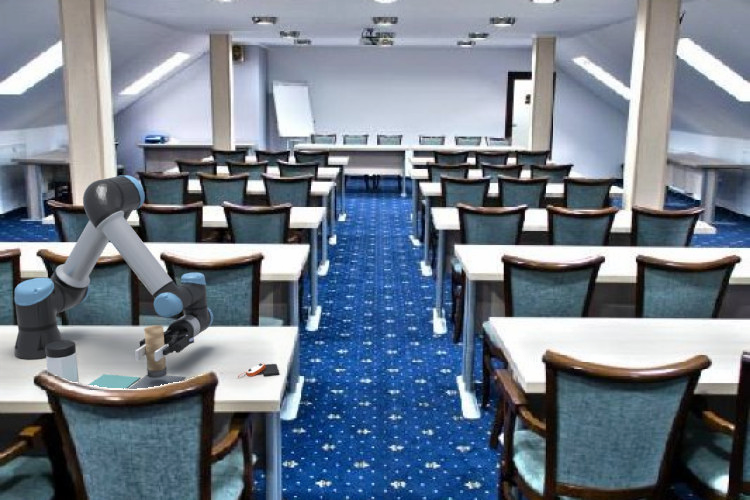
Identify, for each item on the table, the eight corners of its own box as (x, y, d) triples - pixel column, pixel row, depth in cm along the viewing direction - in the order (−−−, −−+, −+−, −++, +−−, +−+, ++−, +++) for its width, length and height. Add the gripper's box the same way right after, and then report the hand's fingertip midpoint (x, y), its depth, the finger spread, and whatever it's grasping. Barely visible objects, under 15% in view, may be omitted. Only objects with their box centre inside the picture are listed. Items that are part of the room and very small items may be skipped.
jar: (71, 375, 229) (67, 337, 226) (85, 382, 224) (82, 343, 221) (42, 384, 222) (38, 345, 219) (56, 391, 217) (52, 351, 214)
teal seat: (80, 390, 217) (80, 389, 217) (103, 375, 229) (103, 374, 229) (119, 394, 215) (119, 392, 215) (140, 378, 226) (140, 377, 226)
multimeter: (217, 386, 221) (217, 375, 220) (219, 371, 233) (218, 361, 232) (280, 383, 224) (279, 372, 223) (278, 368, 236) (278, 358, 235)
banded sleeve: (144, 377, 219) (140, 330, 216) (153, 370, 224) (149, 324, 221) (161, 378, 218) (157, 331, 215) (170, 371, 223) (166, 325, 220)
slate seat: (127, 390, 217) (127, 389, 217) (148, 375, 229) (148, 373, 229) (166, 393, 215) (166, 392, 215) (185, 378, 226) (185, 376, 226)
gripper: (211, 343, 236) (176, 370, 214) (157, 340, 240) (117, 366, 217) (209, 320, 234) (175, 345, 212) (155, 317, 238) (115, 341, 216)
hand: (146, 355), depth 215 cm, fingers closed on banded sleeve, 5 cm apart
